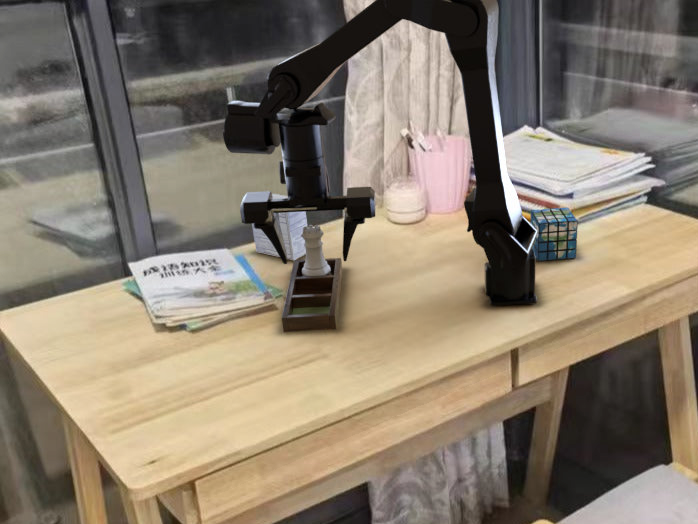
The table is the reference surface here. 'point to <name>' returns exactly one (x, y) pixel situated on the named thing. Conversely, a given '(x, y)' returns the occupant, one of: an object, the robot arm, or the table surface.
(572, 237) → the puzzle
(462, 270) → the table surface
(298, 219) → the medicine box
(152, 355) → the table surface
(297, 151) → the robot arm
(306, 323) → the tray
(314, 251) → the rook chess piece
